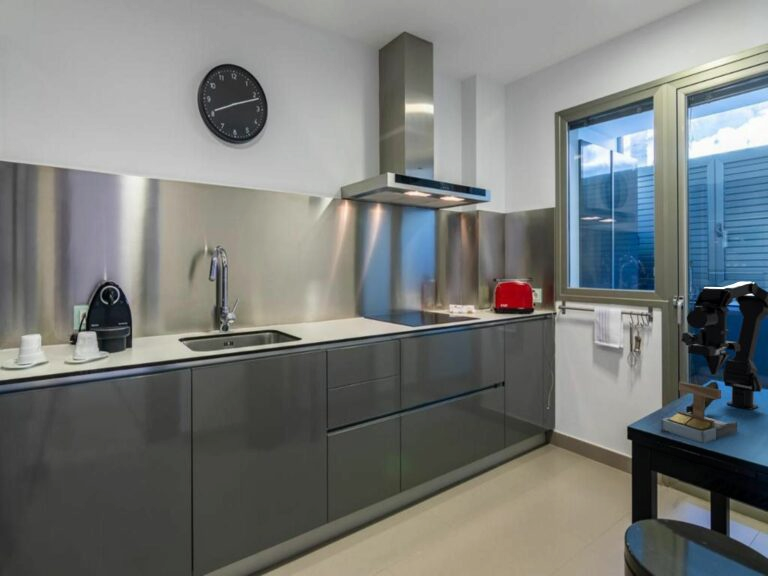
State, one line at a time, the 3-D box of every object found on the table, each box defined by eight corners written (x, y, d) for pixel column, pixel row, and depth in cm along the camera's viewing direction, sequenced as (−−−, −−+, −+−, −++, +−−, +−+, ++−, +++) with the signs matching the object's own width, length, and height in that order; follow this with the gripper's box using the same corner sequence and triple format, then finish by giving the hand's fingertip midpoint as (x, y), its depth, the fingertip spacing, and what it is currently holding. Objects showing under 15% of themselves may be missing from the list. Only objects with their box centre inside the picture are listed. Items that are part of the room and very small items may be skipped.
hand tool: (701, 420, 128) (699, 406, 127) (686, 416, 131) (684, 403, 130) (728, 394, 137) (726, 381, 136) (713, 391, 140) (712, 378, 139)
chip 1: (678, 422, 124) (677, 413, 123) (693, 426, 120) (692, 417, 120) (671, 428, 122) (669, 419, 122) (685, 433, 119) (684, 423, 118)
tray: (673, 426, 125) (674, 416, 125) (716, 439, 115) (716, 428, 115) (661, 429, 122) (661, 419, 122) (703, 443, 112) (703, 432, 112)
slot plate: (694, 420, 130) (694, 410, 129) (737, 432, 119) (737, 422, 119) (674, 425, 125) (674, 415, 125) (717, 439, 115) (717, 428, 115)
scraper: (682, 417, 126) (682, 381, 125) (720, 428, 117) (721, 390, 116) (675, 419, 124) (676, 382, 124) (714, 430, 115) (714, 391, 115)
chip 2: (695, 427, 120) (693, 418, 119) (711, 432, 116) (709, 422, 116) (687, 433, 118) (685, 424, 118) (703, 438, 115) (701, 429, 114)
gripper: (703, 321, 145) (702, 366, 146) (670, 325, 137) (669, 372, 137) (741, 325, 135) (740, 373, 135) (709, 329, 127) (708, 380, 127)
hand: (713, 374), depth 134 cm, fingers closed
